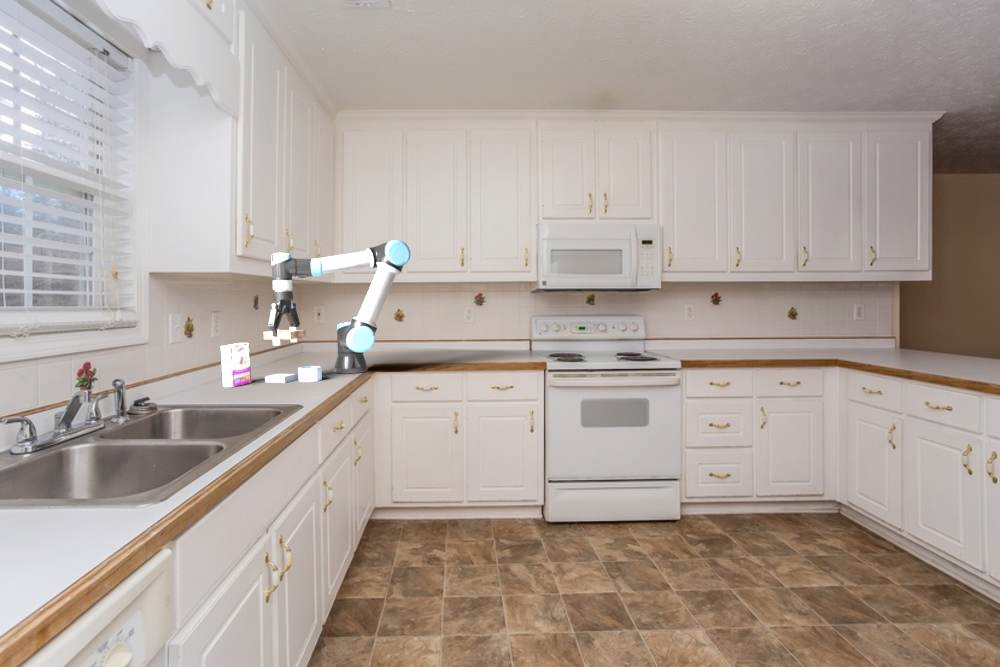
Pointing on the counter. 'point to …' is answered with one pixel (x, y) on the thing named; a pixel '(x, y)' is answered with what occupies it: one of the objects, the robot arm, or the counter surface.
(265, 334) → the lid board
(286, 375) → the block
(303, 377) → the bowl
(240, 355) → the candy bar box
